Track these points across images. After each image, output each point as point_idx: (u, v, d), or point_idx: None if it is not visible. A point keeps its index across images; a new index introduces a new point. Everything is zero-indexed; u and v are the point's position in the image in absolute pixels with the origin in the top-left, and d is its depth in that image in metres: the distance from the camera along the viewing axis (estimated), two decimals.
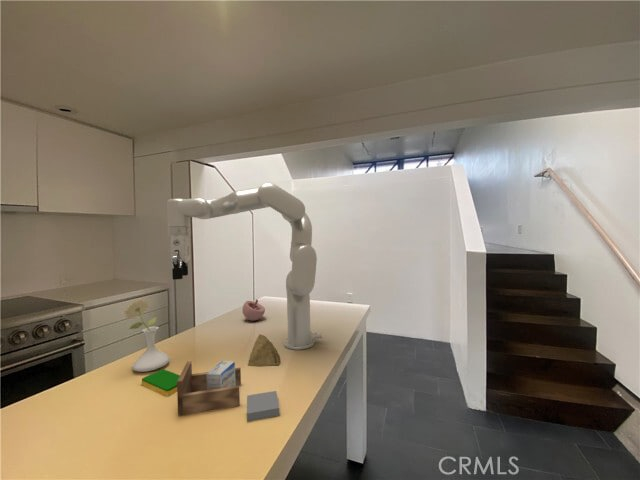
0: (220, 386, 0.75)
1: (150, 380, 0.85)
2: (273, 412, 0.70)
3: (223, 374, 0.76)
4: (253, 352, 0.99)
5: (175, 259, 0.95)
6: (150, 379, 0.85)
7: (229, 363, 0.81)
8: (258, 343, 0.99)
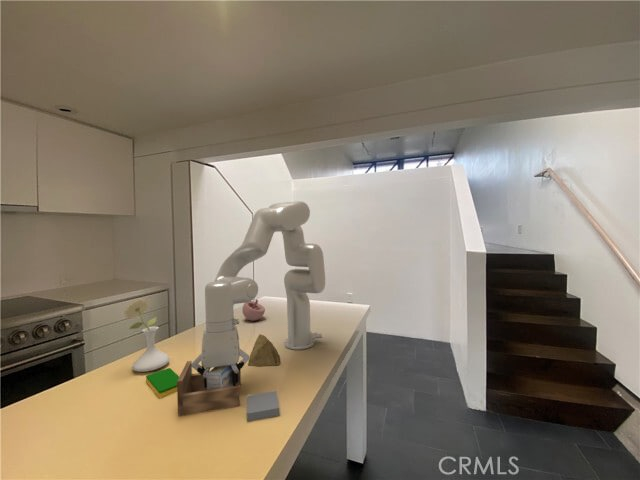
0: (220, 386, 0.75)
1: (151, 378, 0.86)
2: (273, 412, 0.70)
3: (223, 373, 0.76)
4: (253, 352, 0.99)
5: None
6: (152, 377, 0.86)
7: None
8: (258, 343, 0.99)
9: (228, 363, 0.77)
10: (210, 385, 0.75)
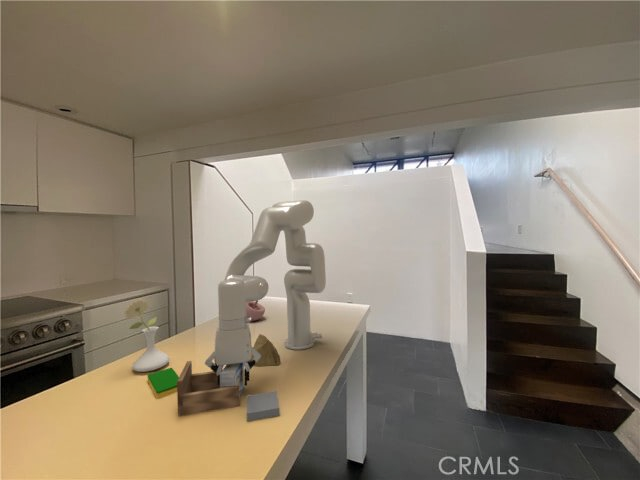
0: (235, 384, 0.75)
1: (152, 378, 0.86)
2: (273, 412, 0.70)
3: (237, 372, 0.76)
4: None
5: None
6: (152, 377, 0.87)
7: None
8: (258, 343, 0.99)
9: (240, 361, 0.78)
10: (224, 384, 0.75)
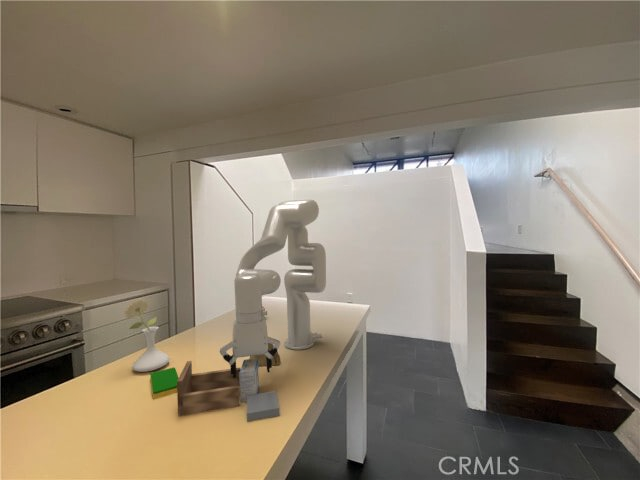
0: (255, 382, 0.76)
1: (153, 377, 0.87)
2: (273, 412, 0.70)
3: (255, 370, 0.78)
4: None
5: None
6: (154, 376, 0.87)
7: (254, 360, 0.82)
8: None
9: (258, 352, 0.80)
10: (244, 383, 0.76)
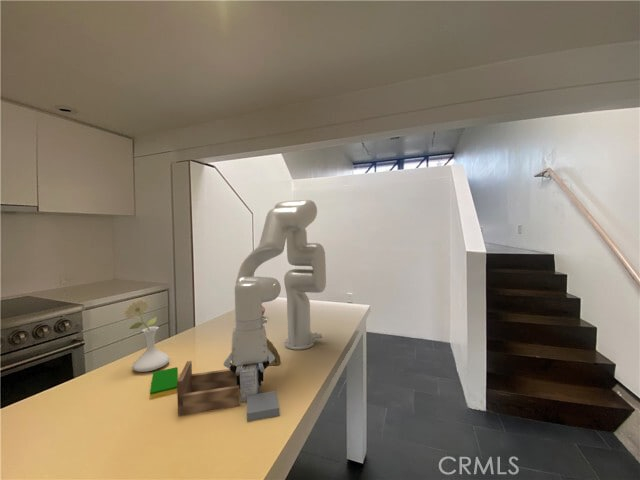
0: (255, 382, 0.76)
1: (154, 376, 0.87)
2: (273, 412, 0.70)
3: (256, 369, 0.78)
4: None
5: None
6: (155, 375, 0.88)
7: None
8: None
9: (257, 361, 0.79)
10: (244, 383, 0.76)
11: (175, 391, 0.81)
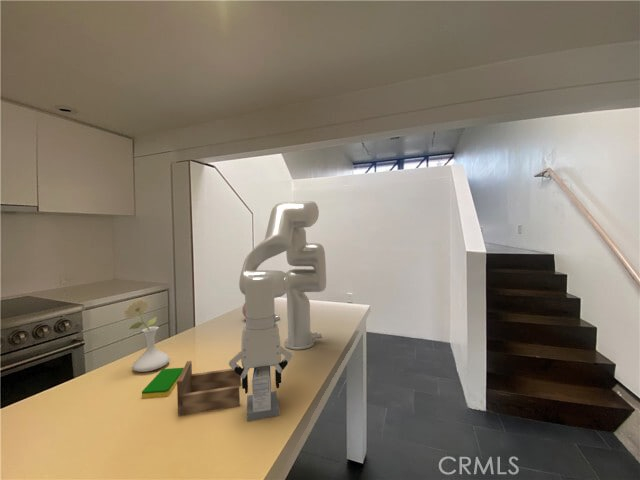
0: (269, 389, 0.69)
1: (159, 374, 0.88)
2: (273, 412, 0.70)
3: (269, 376, 0.70)
4: None
5: None
6: (160, 373, 0.89)
7: None
8: None
9: (270, 363, 0.71)
10: (257, 391, 0.68)
11: (164, 395, 0.79)
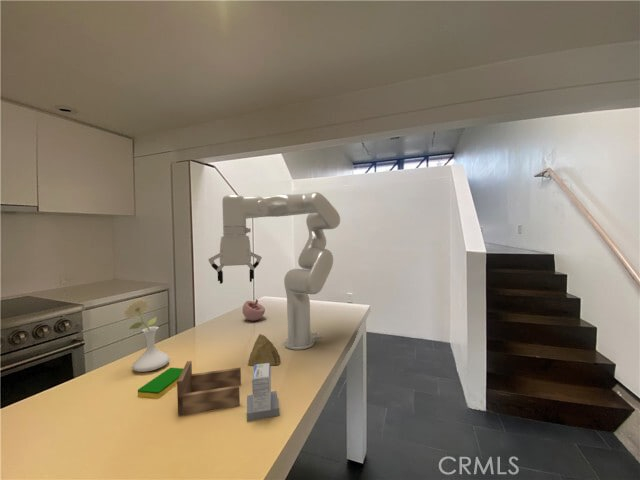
0: (269, 389, 0.69)
1: (163, 373, 0.89)
2: (273, 412, 0.70)
3: (269, 376, 0.70)
4: (253, 352, 0.99)
5: (260, 259, 0.96)
6: (165, 372, 0.90)
7: (266, 365, 0.75)
8: (258, 343, 0.99)
9: (242, 262, 0.92)
10: (257, 391, 0.68)
11: (156, 396, 0.79)
